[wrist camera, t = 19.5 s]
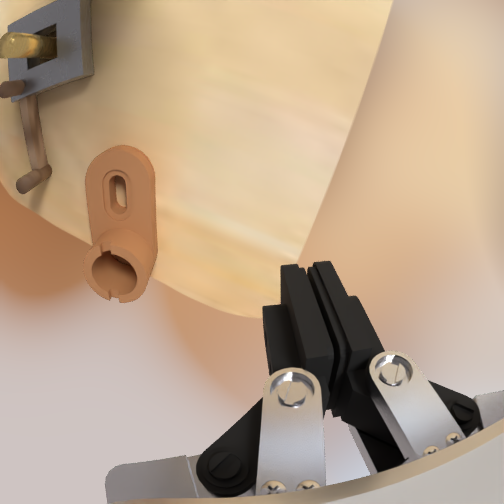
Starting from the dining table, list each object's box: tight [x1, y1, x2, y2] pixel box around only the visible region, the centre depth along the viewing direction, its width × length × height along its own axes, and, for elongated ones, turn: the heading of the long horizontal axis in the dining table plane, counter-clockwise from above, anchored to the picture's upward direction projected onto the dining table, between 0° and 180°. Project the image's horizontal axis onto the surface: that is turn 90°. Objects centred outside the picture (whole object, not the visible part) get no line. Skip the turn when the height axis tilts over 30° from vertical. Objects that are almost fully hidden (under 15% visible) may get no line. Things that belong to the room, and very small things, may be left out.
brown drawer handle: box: [0, 80, 52, 194], centre depth 27 cm, size 14×2×6 cm, turn 3°
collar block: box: [8, 0, 94, 102], centre depth 23 cm, size 11×11×3 cm
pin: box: [0, 32, 58, 59], centre depth 20 cm, size 3×3×10 cm
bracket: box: [83, 145, 158, 303], centre depth 34 cm, size 18×8×7 cm, turn 174°
